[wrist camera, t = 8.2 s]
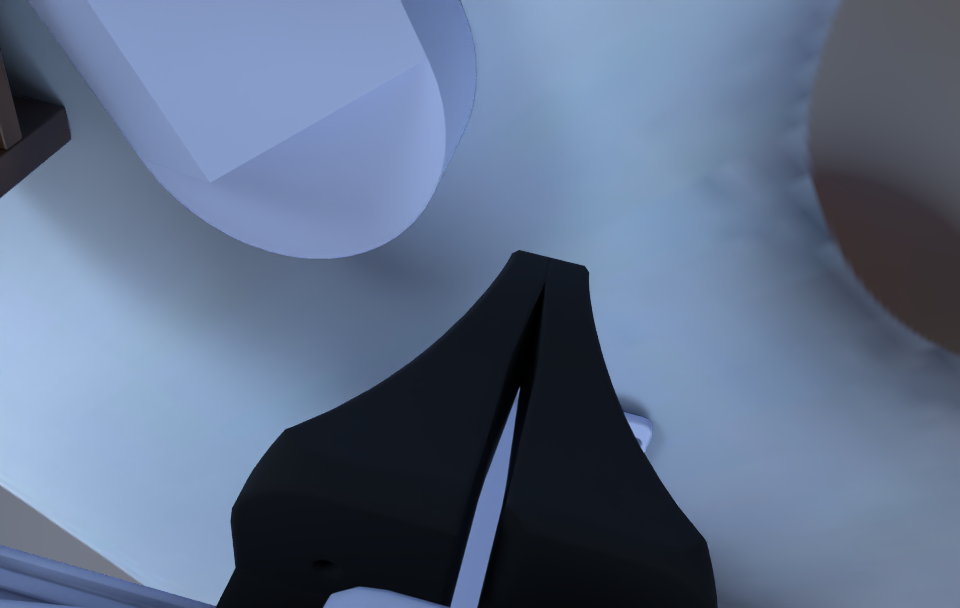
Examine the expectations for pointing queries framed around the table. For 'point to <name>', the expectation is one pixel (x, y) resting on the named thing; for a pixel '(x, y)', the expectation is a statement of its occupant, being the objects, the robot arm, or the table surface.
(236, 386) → the table surface
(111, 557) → the table surface
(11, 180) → the walnut stand
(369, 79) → the wedge on round base
